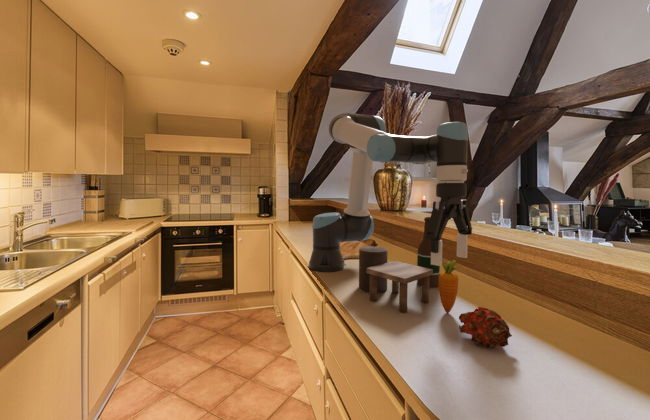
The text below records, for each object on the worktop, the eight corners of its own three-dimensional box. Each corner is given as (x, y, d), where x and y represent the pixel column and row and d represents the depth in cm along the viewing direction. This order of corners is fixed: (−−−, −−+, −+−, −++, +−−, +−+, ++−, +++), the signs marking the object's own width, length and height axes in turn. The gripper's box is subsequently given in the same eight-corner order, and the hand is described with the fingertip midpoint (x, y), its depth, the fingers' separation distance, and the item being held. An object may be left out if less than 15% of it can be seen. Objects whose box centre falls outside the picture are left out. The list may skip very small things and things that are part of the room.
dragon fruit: (509, 366, 61) (460, 346, 72) (528, 334, 64) (478, 320, 75) (489, 337, 60) (442, 321, 70) (509, 305, 63) (461, 295, 74)
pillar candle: (364, 294, 98) (364, 248, 97) (355, 284, 108) (355, 243, 107) (392, 291, 100) (392, 247, 99) (380, 282, 110) (381, 241, 109)
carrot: (433, 311, 85) (435, 258, 84) (447, 308, 87) (448, 256, 85) (447, 318, 80) (449, 262, 79) (461, 314, 82) (463, 260, 81)
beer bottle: (436, 281, 111) (438, 216, 110) (442, 288, 104) (444, 218, 102) (414, 280, 112) (416, 216, 110) (419, 287, 104) (420, 218, 103)
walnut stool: (366, 299, 93) (366, 268, 92) (394, 289, 102) (394, 260, 101) (404, 314, 82) (404, 278, 82) (432, 302, 91) (433, 269, 91)
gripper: (439, 181, 70) (438, 271, 71) (486, 182, 86) (484, 256, 87) (411, 182, 76) (410, 265, 77) (460, 183, 91) (458, 252, 93)
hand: (449, 261), depth 82 cm, fingers open, 13 cm apart
